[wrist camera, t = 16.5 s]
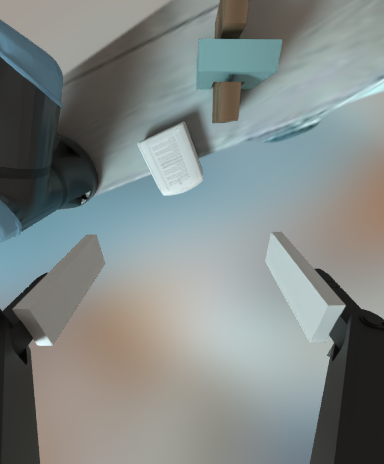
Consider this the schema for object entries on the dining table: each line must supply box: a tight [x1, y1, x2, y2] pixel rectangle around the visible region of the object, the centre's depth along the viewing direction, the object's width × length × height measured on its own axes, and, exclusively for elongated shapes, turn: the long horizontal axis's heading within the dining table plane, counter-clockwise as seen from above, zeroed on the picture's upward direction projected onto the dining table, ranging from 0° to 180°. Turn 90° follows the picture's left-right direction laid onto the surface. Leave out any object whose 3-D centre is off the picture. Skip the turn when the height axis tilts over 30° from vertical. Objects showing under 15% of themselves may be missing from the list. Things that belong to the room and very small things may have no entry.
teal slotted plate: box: [197, 39, 283, 89], centre depth 28 cm, size 10×3×12 cm, turn 90°
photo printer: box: [137, 122, 203, 195], centre depth 39 cm, size 10×4×12 cm
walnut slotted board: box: [212, 0, 249, 123], centre depth 28 cm, size 2×14×12 cm, turn 1°
